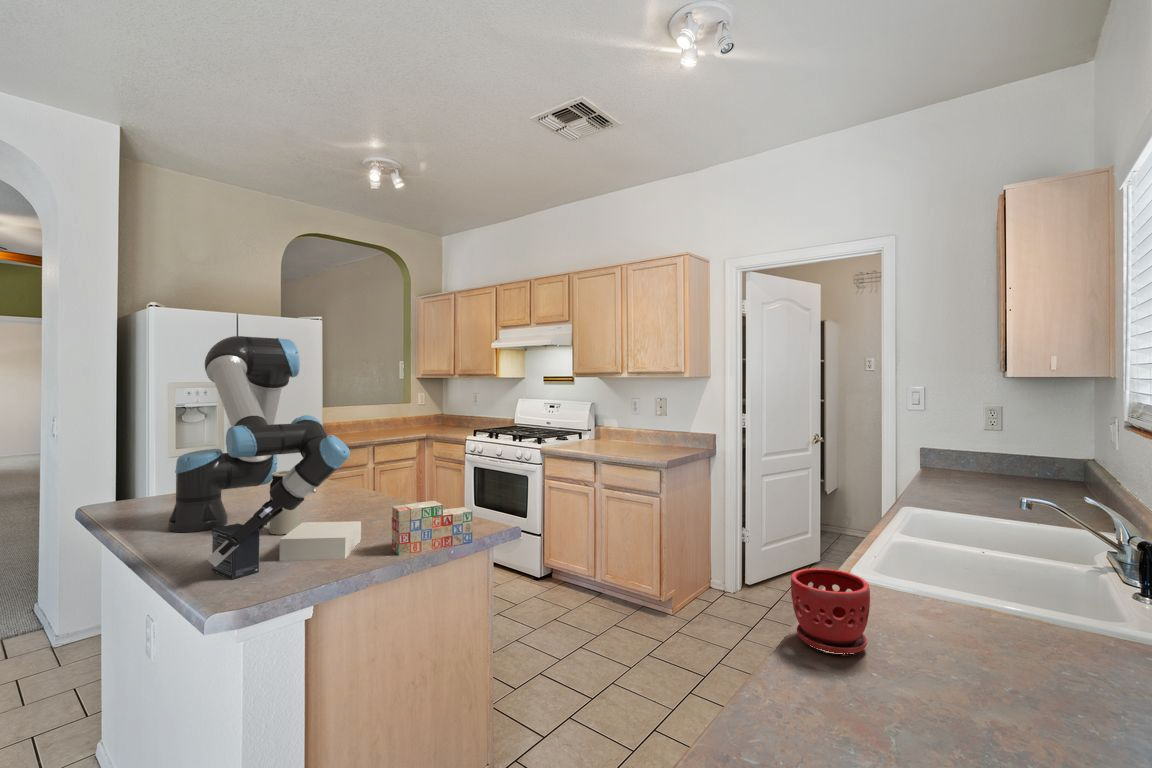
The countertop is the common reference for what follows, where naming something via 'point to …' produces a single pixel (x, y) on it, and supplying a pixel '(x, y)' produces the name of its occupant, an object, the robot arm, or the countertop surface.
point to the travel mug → (283, 513)
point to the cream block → (320, 541)
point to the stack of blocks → (429, 527)
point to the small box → (237, 553)
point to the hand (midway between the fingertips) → (223, 554)
